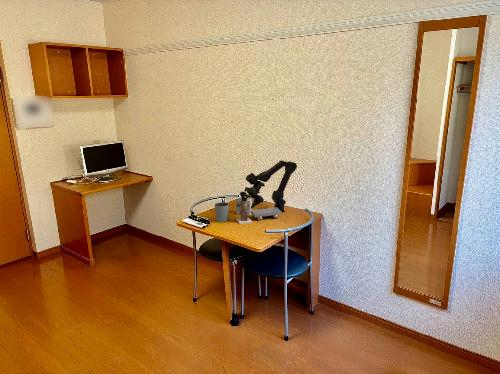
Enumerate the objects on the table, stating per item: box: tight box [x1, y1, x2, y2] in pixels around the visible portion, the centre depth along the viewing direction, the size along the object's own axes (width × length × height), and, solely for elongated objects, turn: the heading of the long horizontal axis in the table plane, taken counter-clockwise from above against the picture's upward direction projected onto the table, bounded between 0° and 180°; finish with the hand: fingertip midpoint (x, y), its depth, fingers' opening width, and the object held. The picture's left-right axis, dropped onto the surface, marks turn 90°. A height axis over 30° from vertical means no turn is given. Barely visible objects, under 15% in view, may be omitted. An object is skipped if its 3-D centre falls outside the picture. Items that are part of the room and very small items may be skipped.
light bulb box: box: [235, 197, 253, 216], centre depth 286 cm, size 11×7×11 cm, turn 76°
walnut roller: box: [239, 201, 248, 221], centre depth 268 cm, size 5×5×13 cm
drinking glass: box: [214, 201, 230, 223], centre depth 271 cm, size 10×10×12 cm
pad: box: [235, 217, 253, 225], centre depth 269 cm, size 9×9×1 cm
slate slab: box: [250, 207, 283, 222], centre depth 276 cm, size 20×11×5 cm, turn 106°
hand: (246, 207), depth 268 cm, fingers open, 9 cm apart
